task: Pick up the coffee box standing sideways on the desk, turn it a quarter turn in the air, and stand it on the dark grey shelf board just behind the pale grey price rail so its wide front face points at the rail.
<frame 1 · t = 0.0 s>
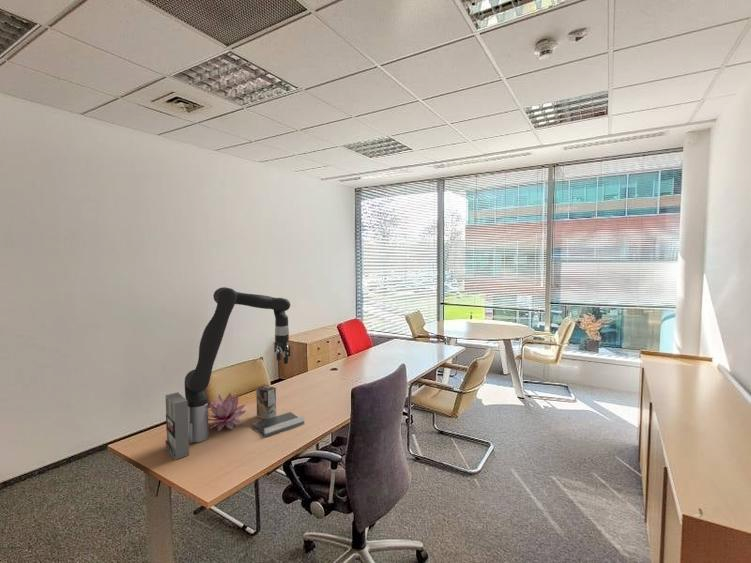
hand: (282, 362, 206), 29 cm above the table, tool pointing down, fingers open, 8 cm apart
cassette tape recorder: (177, 452, 165), on the table
coffee box: (266, 416, 203), on the table
shelf: (278, 425, 192), on the table
decorative flower: (224, 426, 191), on the table, touching arm
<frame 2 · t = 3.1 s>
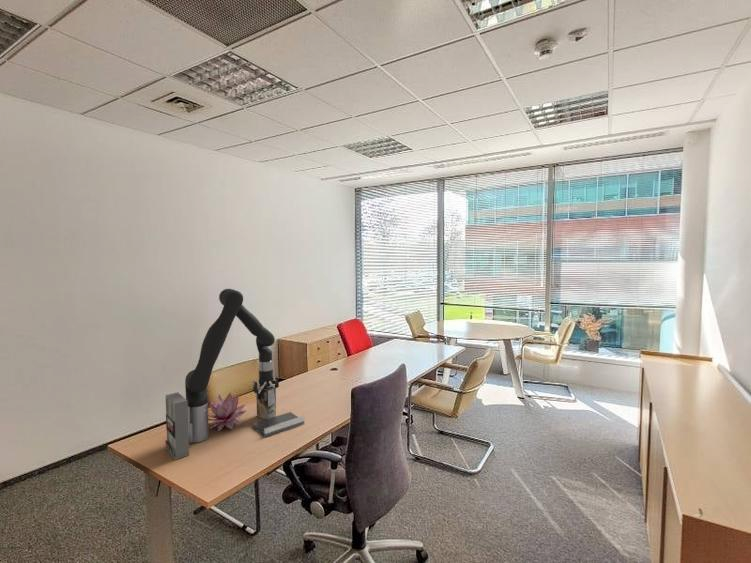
hand: (266, 397, 202), 11 cm above the table, tool pointing down, fingers closed on coffee box, 7 cm apart
coffee box: (266, 416, 203), on the table, touching gripper
everything else where it was.
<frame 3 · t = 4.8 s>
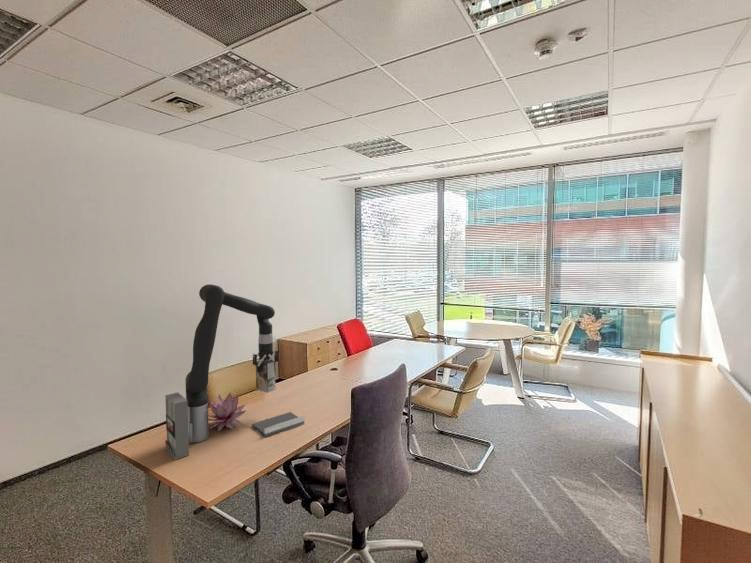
hand: (265, 371, 201), 25 cm above the table, tool pointing down, fingers closed on coffee box, 7 cm apart
coffee box: (265, 390, 202), point 15 cm above the table, touching gripper
everything else where it was.
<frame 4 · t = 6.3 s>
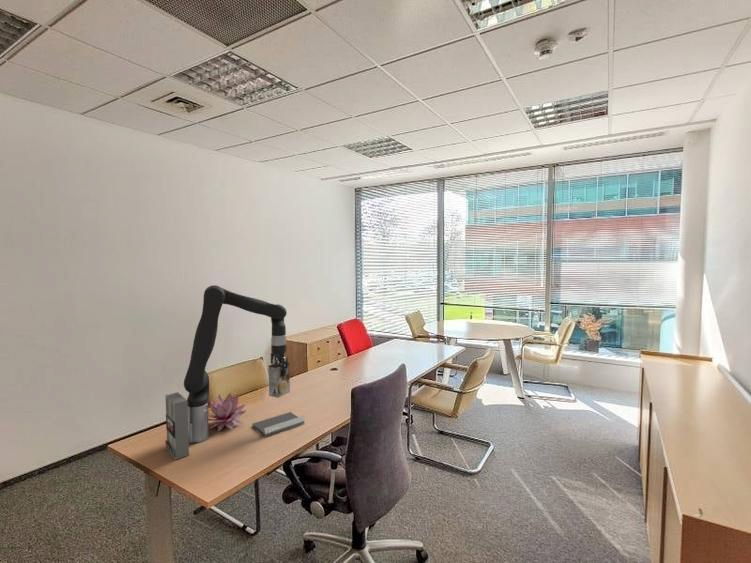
hand: (279, 374, 189), 27 cm above the table, tool pointing down, fingers closed on coffee box, 7 cm apart
coffee box: (279, 394, 190), point 17 cm above the table, touching gripper
everything else where it was.
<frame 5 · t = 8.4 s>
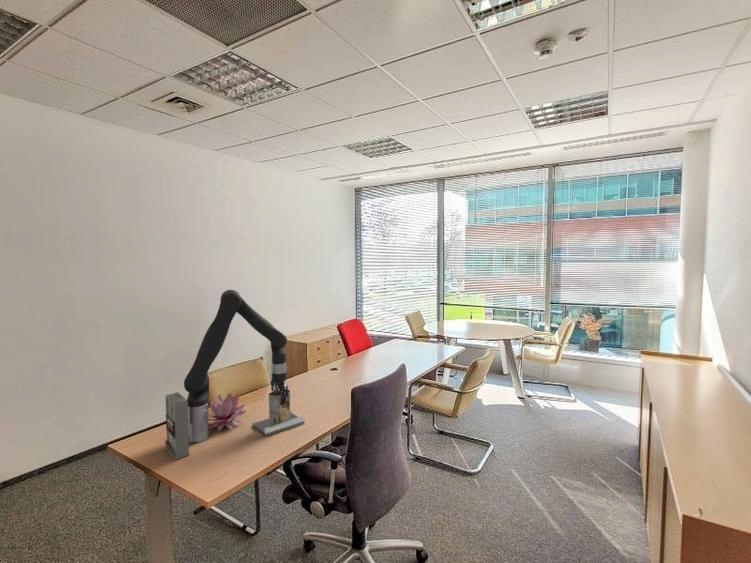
hand: (279, 401, 190), 13 cm above the table, tool pointing down, fingers closed on coffee box, 7 cm apart
coffee box: (279, 421, 191), point 2 cm above the table, touching gripper
everything else where it was.
when the fingers open (13 cm above the table, at t = 9.9 s): coffee box stays where it is, resting on shelf.
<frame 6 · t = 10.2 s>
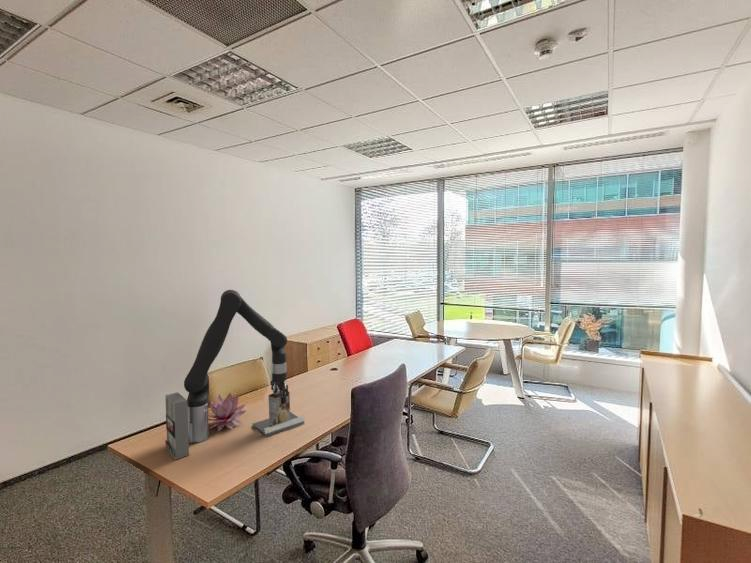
hand: (279, 401, 190), 13 cm above the table, tool pointing down, fingers open, 8 cm apart
coffee box: (279, 423, 191), point 1 cm above the table, touching shelf
everything else where it was.
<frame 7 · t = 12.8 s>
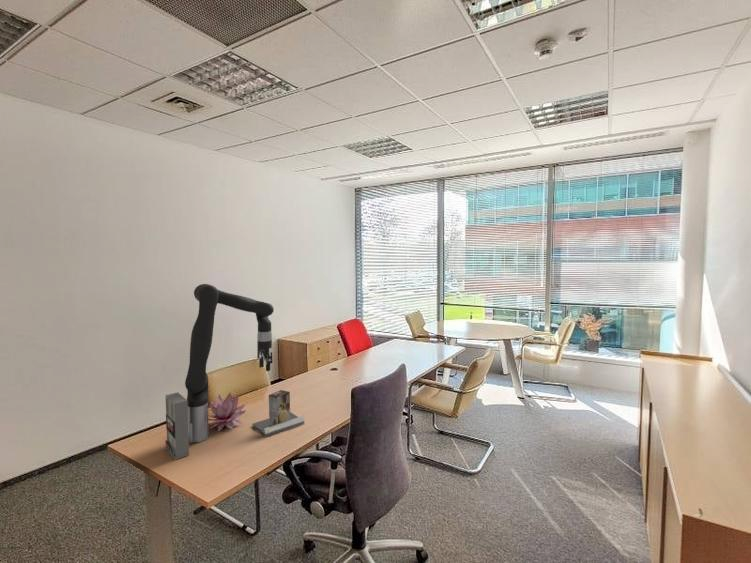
hand: (264, 368, 198), 28 cm above the table, tool pointing down, fingers open, 8 cm apart
nothing on the table moved.
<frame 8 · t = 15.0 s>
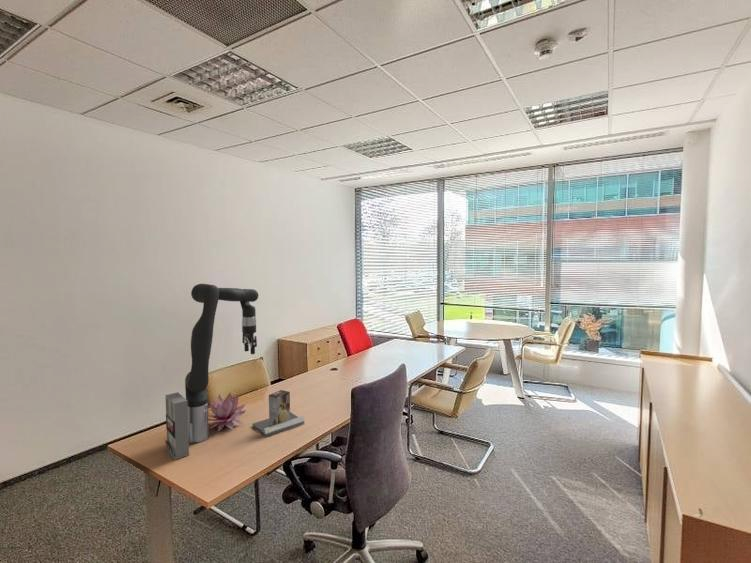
hand: (249, 352, 207), 34 cm above the table, tool pointing down, fingers open, 8 cm apart
nothing on the table moved.
at the end: coffee box inside the target area on the shelf (0.1 cm from its centre), point 1.3 cm above the shelf's base; coffee box tilted 0°; the gripper is holding nothing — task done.
